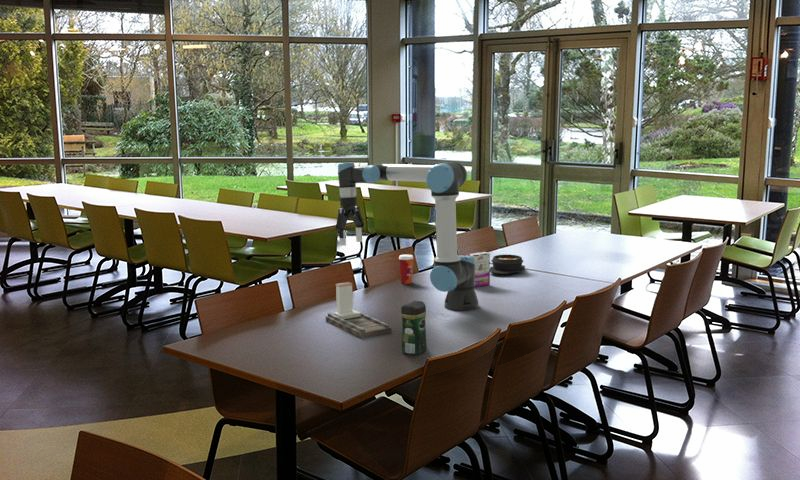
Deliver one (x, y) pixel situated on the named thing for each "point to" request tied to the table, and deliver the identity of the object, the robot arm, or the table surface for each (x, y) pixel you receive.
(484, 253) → the candy bar box
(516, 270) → the casserole
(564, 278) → the table surface
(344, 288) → the post
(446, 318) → the table surface
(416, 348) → the coffee jar
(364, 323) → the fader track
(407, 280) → the paper cup
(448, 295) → the robot arm
